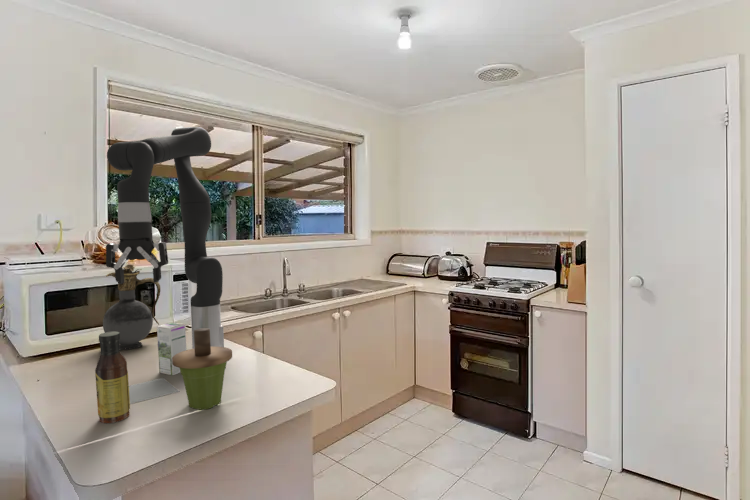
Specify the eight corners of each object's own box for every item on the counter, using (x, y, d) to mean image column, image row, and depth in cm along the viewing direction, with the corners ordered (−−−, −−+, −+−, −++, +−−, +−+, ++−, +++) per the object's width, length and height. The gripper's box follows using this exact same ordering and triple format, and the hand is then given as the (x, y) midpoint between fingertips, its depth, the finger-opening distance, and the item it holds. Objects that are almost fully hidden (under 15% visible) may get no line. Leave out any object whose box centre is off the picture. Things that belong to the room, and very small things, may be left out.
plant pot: (173, 403, 107) (171, 358, 106) (221, 391, 114) (220, 349, 113) (185, 419, 97) (183, 370, 97) (237, 405, 105) (236, 360, 104)
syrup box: (188, 370, 131) (186, 323, 130) (171, 376, 125) (169, 327, 125) (174, 368, 133) (173, 321, 132) (158, 374, 128) (156, 325, 127)
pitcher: (101, 348, 156) (97, 265, 154) (158, 338, 169) (155, 261, 167) (107, 355, 148) (103, 267, 146) (167, 344, 161) (163, 263, 159)
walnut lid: (218, 347, 115) (217, 321, 114) (241, 359, 105) (240, 329, 104) (164, 359, 105) (163, 330, 105) (184, 372, 96) (182, 340, 95)
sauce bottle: (107, 413, 101) (103, 329, 100) (135, 412, 102) (131, 328, 100) (91, 426, 95) (86, 337, 93) (121, 425, 95) (117, 336, 94)
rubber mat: (163, 379, 124) (163, 377, 124) (179, 392, 113) (179, 391, 113) (106, 392, 114) (106, 390, 114) (119, 408, 104) (119, 406, 104)
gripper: (98, 221, 107) (102, 286, 108) (159, 219, 109) (163, 283, 111) (111, 221, 114) (115, 282, 116) (168, 219, 117) (172, 279, 118)
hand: (139, 282), depth 113 cm, fingers open, 8 cm apart
